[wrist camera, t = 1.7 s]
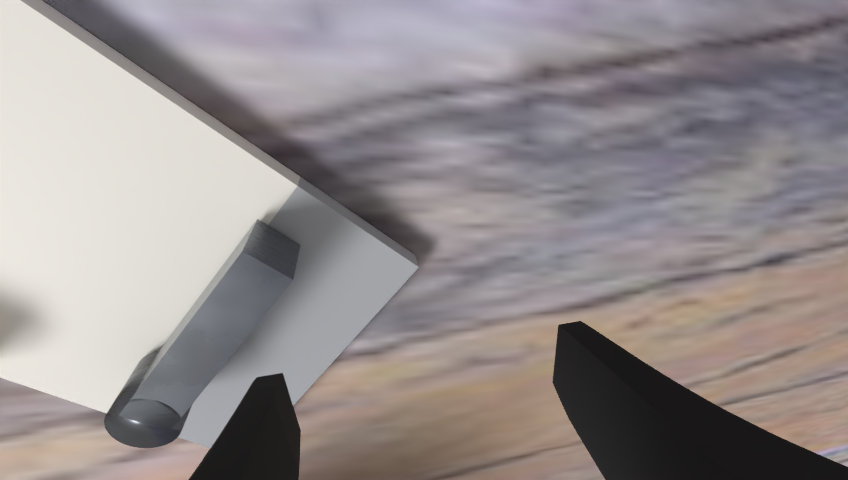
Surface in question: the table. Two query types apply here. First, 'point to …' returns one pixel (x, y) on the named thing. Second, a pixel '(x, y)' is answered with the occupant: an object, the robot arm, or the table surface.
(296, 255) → the swing bar
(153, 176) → the door board
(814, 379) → the table surface
